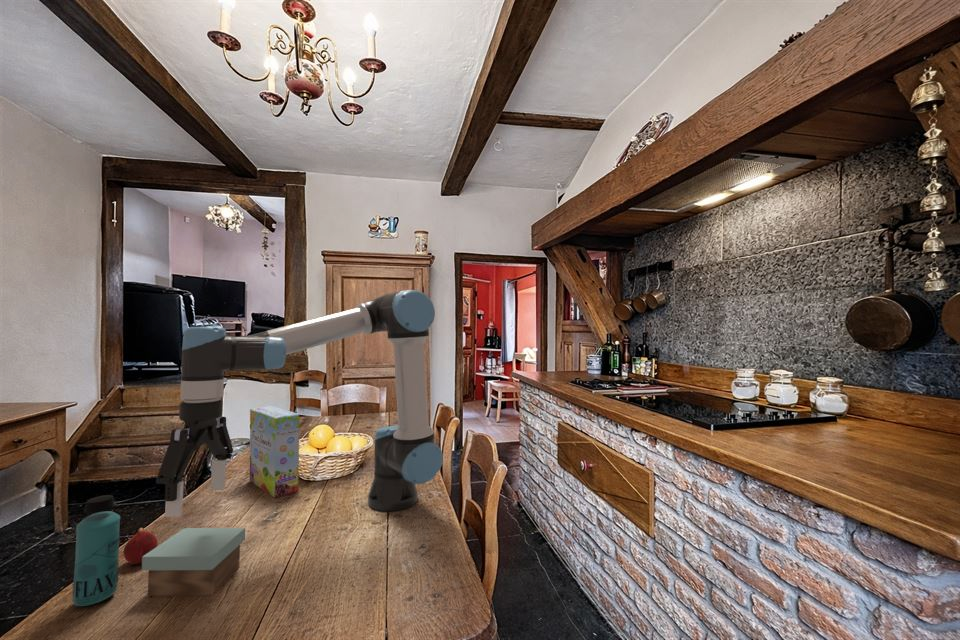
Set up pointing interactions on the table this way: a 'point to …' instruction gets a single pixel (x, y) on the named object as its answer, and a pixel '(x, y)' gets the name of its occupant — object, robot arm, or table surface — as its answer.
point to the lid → (194, 549)
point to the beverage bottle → (96, 553)
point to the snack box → (274, 450)
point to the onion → (139, 546)
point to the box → (192, 578)
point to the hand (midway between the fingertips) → (197, 502)
